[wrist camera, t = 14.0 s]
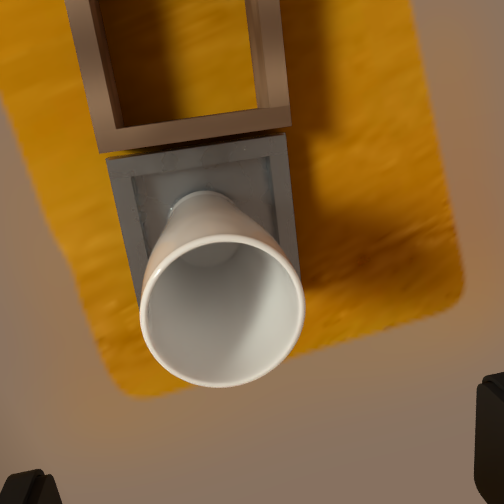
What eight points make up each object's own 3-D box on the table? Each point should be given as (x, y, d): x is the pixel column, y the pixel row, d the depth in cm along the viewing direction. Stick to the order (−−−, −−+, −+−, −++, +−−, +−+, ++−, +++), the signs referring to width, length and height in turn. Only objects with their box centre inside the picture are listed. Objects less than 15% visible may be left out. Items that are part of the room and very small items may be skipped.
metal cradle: (107, 157, 31) (101, 161, 29) (282, 132, 32) (290, 133, 30) (141, 311, 35) (139, 325, 32) (298, 283, 36) (306, 295, 34)
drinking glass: (245, 277, 34) (292, 395, 20) (151, 267, 33) (129, 387, 19) (260, 185, 32) (323, 243, 18) (160, 171, 31) (145, 222, 17)
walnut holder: (67, -47, 28) (47, -76, 23) (256, -66, 29) (269, -97, 25) (110, 147, 31) (99, 153, 27) (276, 123, 32) (291, 125, 28)
